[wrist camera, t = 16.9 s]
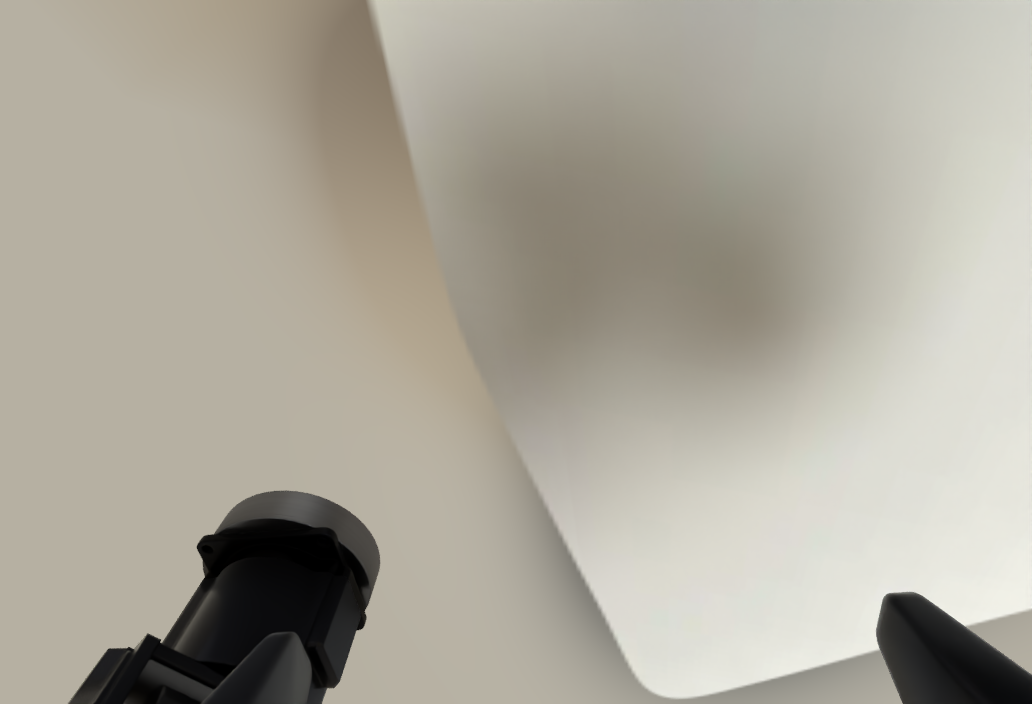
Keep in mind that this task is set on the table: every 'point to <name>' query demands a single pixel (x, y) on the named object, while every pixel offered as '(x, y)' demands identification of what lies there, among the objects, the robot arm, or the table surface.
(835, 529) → the table surface
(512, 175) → the table surface
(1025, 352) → the table surface
